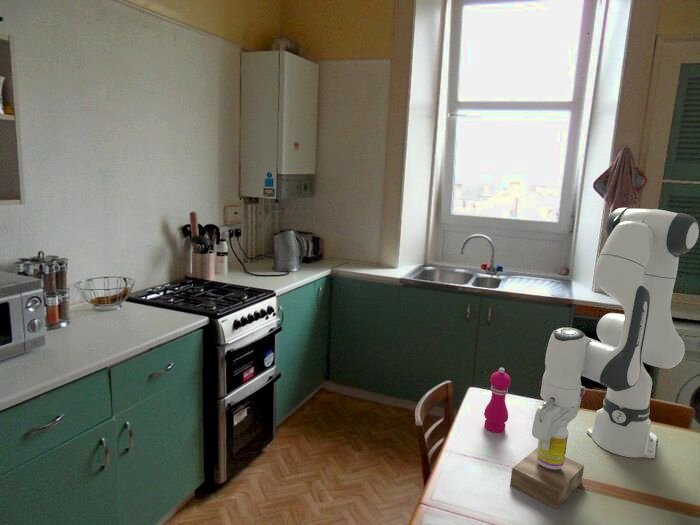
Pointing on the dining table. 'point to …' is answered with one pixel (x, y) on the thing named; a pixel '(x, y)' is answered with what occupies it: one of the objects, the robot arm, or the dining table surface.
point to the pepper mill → (497, 402)
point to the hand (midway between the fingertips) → (552, 443)
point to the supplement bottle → (554, 449)
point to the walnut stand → (546, 479)
